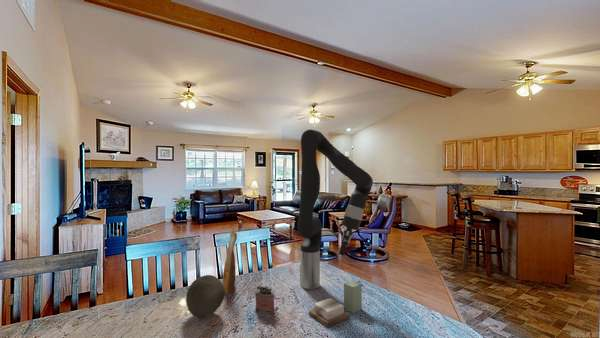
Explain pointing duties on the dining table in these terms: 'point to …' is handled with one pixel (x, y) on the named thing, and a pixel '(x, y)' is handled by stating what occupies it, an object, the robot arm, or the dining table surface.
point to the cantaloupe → (205, 296)
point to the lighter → (264, 300)
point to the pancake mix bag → (230, 264)
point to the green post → (352, 296)
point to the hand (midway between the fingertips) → (341, 253)
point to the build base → (328, 322)
